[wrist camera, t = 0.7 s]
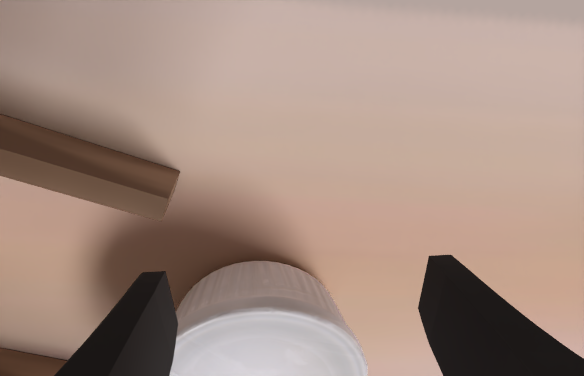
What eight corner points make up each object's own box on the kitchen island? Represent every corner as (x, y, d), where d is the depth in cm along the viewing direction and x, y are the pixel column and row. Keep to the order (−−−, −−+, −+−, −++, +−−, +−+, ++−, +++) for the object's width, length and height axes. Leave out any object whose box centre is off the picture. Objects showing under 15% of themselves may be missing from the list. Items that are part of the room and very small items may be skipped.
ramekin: (143, 358, 25) (117, 442, 20) (196, 216, 21) (180, 280, 16) (302, 393, 28) (312, 474, 23) (377, 273, 24) (408, 342, 19)
